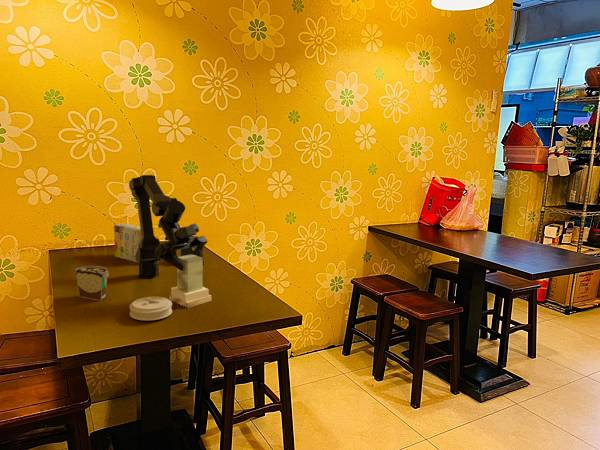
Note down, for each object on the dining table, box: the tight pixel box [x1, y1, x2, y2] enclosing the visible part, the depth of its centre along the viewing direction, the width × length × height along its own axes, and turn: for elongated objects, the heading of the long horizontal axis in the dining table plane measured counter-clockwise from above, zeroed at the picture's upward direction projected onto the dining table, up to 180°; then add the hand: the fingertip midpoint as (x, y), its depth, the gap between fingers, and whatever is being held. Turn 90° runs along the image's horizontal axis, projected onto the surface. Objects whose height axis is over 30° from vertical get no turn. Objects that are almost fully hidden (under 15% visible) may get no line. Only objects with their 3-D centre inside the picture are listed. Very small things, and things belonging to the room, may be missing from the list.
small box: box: [180, 235, 197, 256], centre depth 204 cm, size 11×6×10 cm, turn 168°
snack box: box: [113, 223, 155, 264], centre depth 202 cm, size 21×6×15 cm, turn 58°
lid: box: [129, 295, 173, 321], centre depth 142 cm, size 13×13×5 cm
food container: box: [74, 265, 110, 302], centre depth 155 cm, size 12×6×10 cm, turn 71°
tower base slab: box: [168, 294, 213, 309], centre depth 156 cm, size 10×10×2 cm
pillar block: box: [176, 254, 204, 293], centre depth 154 cm, size 6×6×11 cm
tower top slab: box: [170, 286, 210, 302], centre depth 155 cm, size 9×9×2 cm
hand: (193, 267), depth 153 cm, fingers open, 8 cm apart
